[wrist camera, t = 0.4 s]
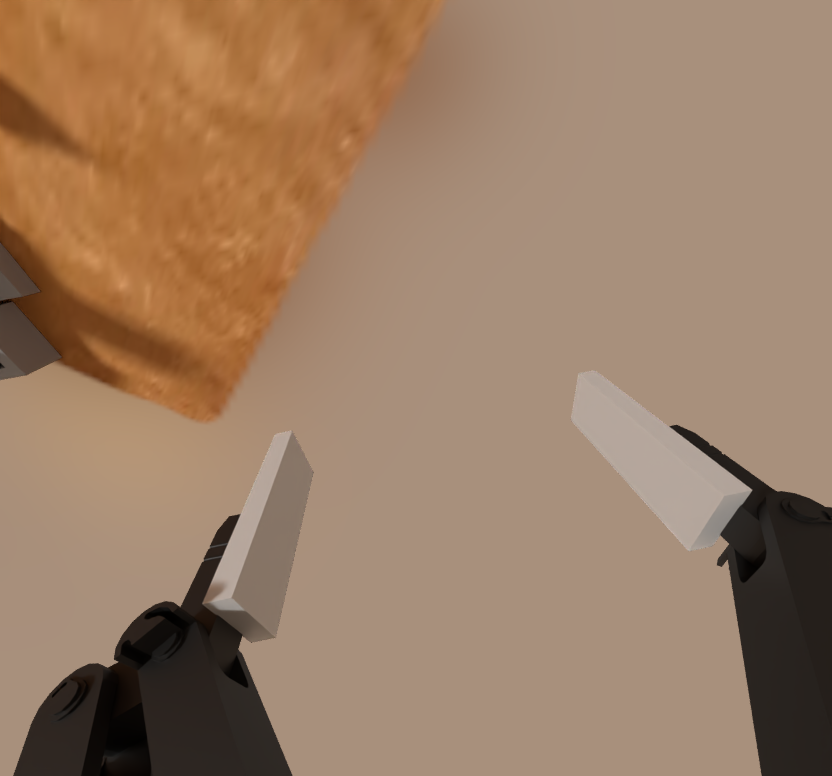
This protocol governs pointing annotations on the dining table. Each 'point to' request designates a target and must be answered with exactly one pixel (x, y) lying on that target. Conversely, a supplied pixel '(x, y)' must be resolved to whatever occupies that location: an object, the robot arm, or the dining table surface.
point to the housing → (19, 325)
